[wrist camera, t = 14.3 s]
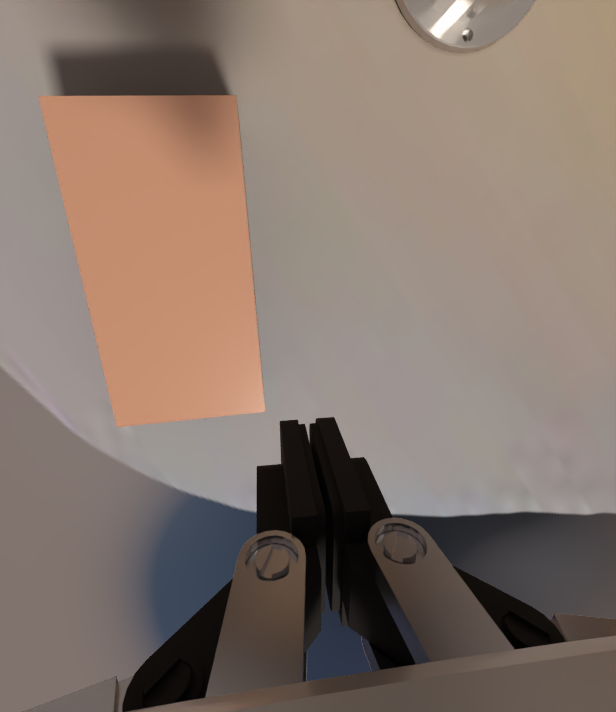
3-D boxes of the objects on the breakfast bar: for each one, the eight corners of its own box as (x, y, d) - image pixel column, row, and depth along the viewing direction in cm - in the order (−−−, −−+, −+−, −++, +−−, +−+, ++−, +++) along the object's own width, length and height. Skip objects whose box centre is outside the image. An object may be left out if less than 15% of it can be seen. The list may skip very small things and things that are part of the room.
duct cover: (47, 101, 23) (38, 95, 22) (236, 100, 24) (236, 95, 23) (121, 421, 30) (117, 427, 29) (264, 406, 31) (265, 411, 30)
